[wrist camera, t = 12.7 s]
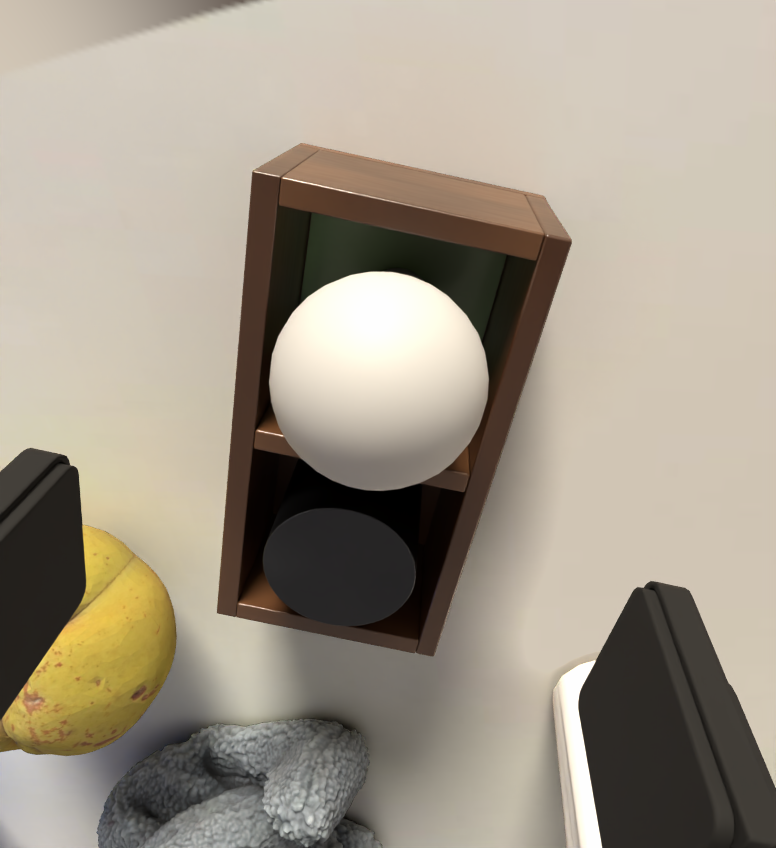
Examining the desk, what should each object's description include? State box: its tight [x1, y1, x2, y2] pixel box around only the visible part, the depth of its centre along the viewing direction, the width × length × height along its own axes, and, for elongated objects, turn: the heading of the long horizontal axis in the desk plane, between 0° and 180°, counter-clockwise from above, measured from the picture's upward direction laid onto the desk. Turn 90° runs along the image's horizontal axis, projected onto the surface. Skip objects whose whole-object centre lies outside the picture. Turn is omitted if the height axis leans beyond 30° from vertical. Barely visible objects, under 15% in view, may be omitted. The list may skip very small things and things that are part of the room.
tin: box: [263, 458, 422, 626], centre depth 27 cm, size 6×6×7 cm
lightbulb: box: [269, 268, 489, 491], centre depth 20 cm, size 6×6×11 cm
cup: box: [553, 660, 602, 848], centre depth 30 cm, size 8×8×14 cm
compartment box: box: [217, 143, 572, 656], centre depth 25 cm, size 9×17×7 cm, turn 169°
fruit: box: [0, 525, 177, 756], centre depth 30 cm, size 11×12×10 cm
